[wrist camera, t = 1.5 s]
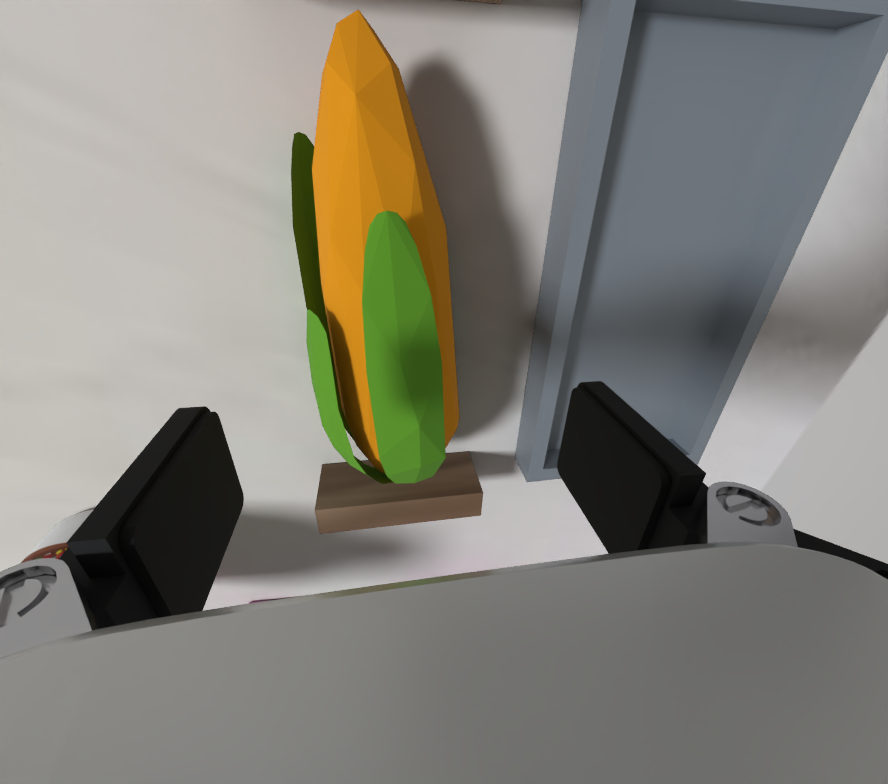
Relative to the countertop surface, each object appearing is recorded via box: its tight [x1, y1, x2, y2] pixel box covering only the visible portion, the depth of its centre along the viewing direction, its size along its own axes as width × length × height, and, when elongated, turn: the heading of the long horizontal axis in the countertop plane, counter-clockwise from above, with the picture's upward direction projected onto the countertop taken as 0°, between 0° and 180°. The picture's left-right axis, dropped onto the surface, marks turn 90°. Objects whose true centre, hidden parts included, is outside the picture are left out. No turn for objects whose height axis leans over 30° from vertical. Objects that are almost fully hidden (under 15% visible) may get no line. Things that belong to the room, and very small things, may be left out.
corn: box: [291, 10, 460, 484], centre depth 17 cm, size 7×8×20 cm
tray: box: [515, 0, 888, 482], centre depth 22 cm, size 25×13×2 cm, turn 179°
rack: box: [315, 0, 502, 534], centre depth 19 cm, size 27×10×4 cm, turn 179°
